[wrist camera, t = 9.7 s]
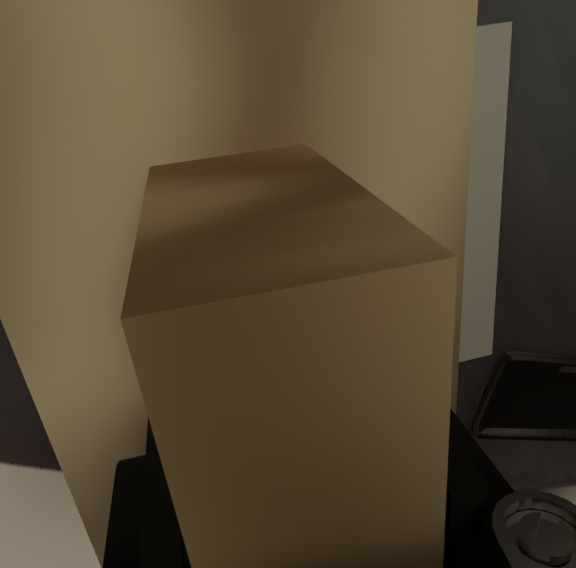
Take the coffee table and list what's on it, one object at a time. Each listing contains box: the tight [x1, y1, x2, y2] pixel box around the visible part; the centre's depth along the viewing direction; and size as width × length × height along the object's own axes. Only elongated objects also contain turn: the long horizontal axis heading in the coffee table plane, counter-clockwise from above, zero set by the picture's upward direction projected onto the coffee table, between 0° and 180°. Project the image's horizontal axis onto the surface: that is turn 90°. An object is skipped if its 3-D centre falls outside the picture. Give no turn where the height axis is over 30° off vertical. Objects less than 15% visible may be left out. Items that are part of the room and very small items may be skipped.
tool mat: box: [459, 22, 512, 362], centre depth 32 cm, size 15×22×1 cm
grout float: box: [0, 0, 478, 568], centre depth 10 cm, size 10×18×7 cm, turn 6°
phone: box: [468, 350, 576, 441], centre depth 42 cm, size 8×1×15 cm
